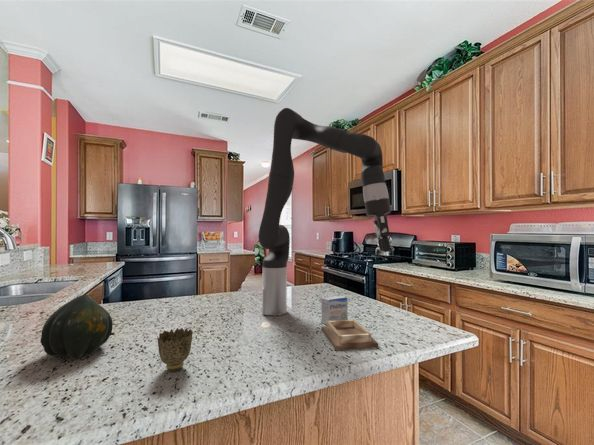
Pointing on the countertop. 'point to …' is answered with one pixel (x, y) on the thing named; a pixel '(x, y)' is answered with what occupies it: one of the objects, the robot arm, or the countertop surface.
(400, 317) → the countertop surface
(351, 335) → the holder
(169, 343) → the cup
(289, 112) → the robot arm
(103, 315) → the squash
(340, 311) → the medicine box
